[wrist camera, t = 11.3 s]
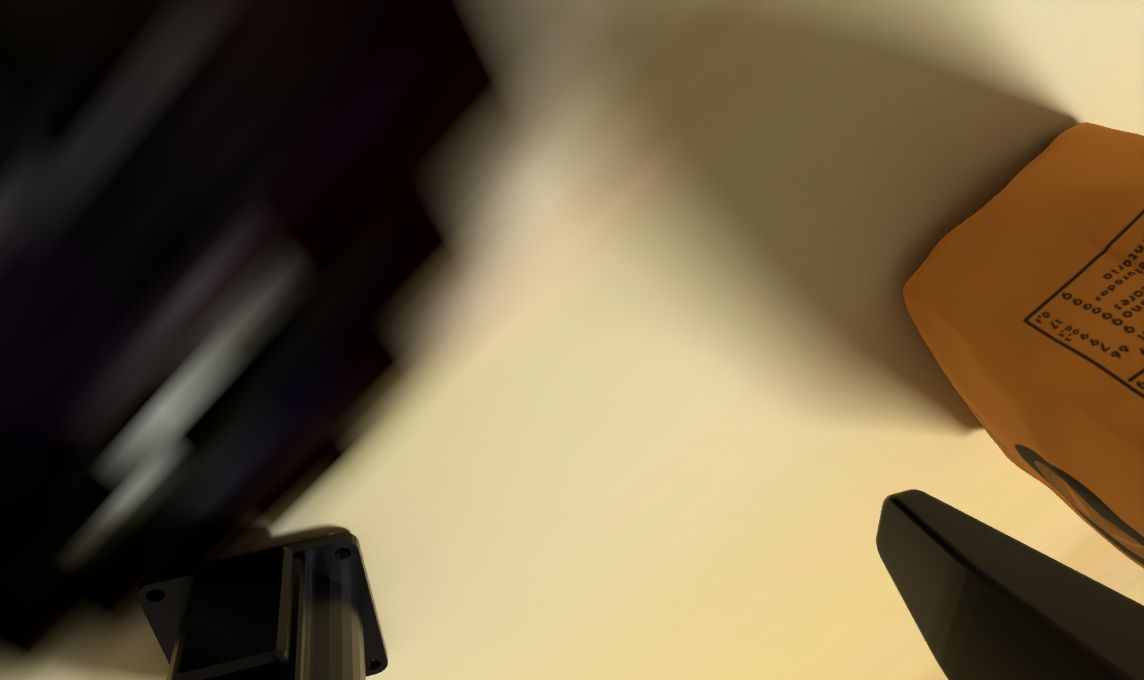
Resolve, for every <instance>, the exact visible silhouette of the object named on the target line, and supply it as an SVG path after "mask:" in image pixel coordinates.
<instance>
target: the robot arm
mask: <svg viewBox="0 0 1144 680" xmlns="http://www.w3.org/2000/svg"><path fill="white" fill-rule="evenodd" d="M876 544H877V549H878V552H879V555H880V557H881V559H882V561H883V563H884V565H885V567H886V568H887V570H888V572H889V574H890V576H891V578H892V580H893V582H894V583H895V585H896V587H897V589H898V591H899V593H900V595H901V596H902V598H903V600H904V602H905V604H906V606H907V608H908V609H909V611H910V613H911V615H912V617H913V619H914V621H915V622H916V624H917V626H918V628H919V630H920V632H921V634H922V636H923V637H924V639H925V641H926V643H927V645H928V647H929V648H930V650H931V652H932V654H933V655H934V657H935V659H936V661H937V662H938V664H939V666H940V667H941V669H942V670H943V672H944V674H945V675H946V677H947V678H948V680H1144V606H1143V605H1141V604H1139V603H1137V602H1136V601H1134V600H1132V599H1130V598H1128V597H1126V596H1124V595H1122V594H1120V593H1118V592H1116V591H1114V590H1112V589H1110V588H1108V587H1107V586H1105V585H1103V584H1101V583H1099V582H1097V581H1095V580H1093V579H1091V578H1089V577H1087V576H1085V575H1083V574H1081V573H1079V572H1078V571H1076V570H1074V569H1072V568H1070V567H1068V566H1066V565H1064V564H1062V563H1060V562H1058V561H1056V560H1054V559H1052V558H1050V557H1049V556H1047V555H1045V554H1043V553H1041V552H1039V551H1037V550H1035V549H1033V548H1031V547H1029V546H1027V545H1025V544H1023V543H1021V542H1019V541H1018V540H1016V539H1014V538H1012V537H1010V536H1008V535H1006V534H1004V533H1002V532H1000V531H998V530H996V529H994V528H992V527H990V526H989V525H987V524H985V523H983V522H981V521H979V520H977V519H975V518H973V517H971V516H969V515H967V514H965V513H963V512H961V511H960V510H958V509H956V508H954V507H952V506H950V505H948V504H946V503H944V502H942V501H940V500H938V499H936V498H934V497H932V496H931V495H929V494H927V493H925V492H922V491H919V490H915V489H913V490H907V491H903V492H899V493H896V494H892V495H889V496H887V497H886V499H885V500H884V502H883V505H882V510H881V515H880V520H879V525H878V531H877V536H876ZM342 547H346V548H348V549H346V550H342V551H340V550H337V549H339V548H342ZM155 589H159V590H162V591H161V592H155V591H152V590H155ZM137 597H138V601H139V603H140V605H141V607H142V609H143V611H144V613H145V615H146V617H147V619H148V621H149V623H150V625H151V627H152V630H153V632H154V634H155V636H156V638H157V640H158V642H159V644H160V646H161V648H162V650H163V652H164V654H165V656H166V658H167V660H168V662H169V664H170V666H169V671H168V675H167V680H366V676H370V675H374V674H377V673H380V672H382V671H383V670H384V669H385V668H386V667H387V665H388V658H387V650H386V646H385V642H384V638H383V634H382V630H381V627H380V623H379V619H378V615H377V611H376V607H375V603H374V599H373V595H372V591H371V588H370V584H369V580H368V576H367V572H366V568H365V564H364V560H363V556H362V553H361V549H360V545H359V541H358V539H357V537H355V536H354V535H352V534H349V533H338V534H334V535H329V536H325V537H320V538H316V539H311V540H306V541H302V542H297V543H293V544H288V545H284V546H279V547H275V548H270V549H265V550H261V551H256V552H252V553H247V554H243V555H238V556H234V557H229V558H224V559H220V560H215V561H211V562H206V563H202V564H197V565H193V566H188V567H184V568H179V569H174V570H170V571H165V572H161V573H156V574H152V575H150V576H147V577H146V578H144V579H143V580H142V582H141V584H140V587H139V590H138V594H137ZM372 660H373V661H372Z"/></svg>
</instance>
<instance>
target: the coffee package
mask: <svg viewBox="0 0 1144 680" xmlns="http://www.w3.org/2000/svg"><path fill="white" fill-rule="evenodd" d="M903 296H904V300H905V304H906V307H907V310H908V312H909V314H910V316H911V318H912V320H913V322H914V323H915V325H916V327H917V329H918V331H919V333H920V335H921V336H922V338H923V340H924V341H925V343H926V345H927V346H928V348H929V349H930V351H931V352H932V354H933V356H934V357H935V359H936V361H937V362H938V364H939V366H940V367H941V369H942V370H943V372H944V373H945V375H946V376H947V378H948V379H949V380H950V382H951V383H952V385H953V386H954V388H955V389H956V390H957V392H958V393H959V395H960V396H961V397H962V398H963V400H964V401H965V402H966V404H967V405H968V406H969V408H970V409H971V411H972V412H973V413H974V415H975V416H976V418H977V419H978V420H979V422H980V423H981V424H982V426H983V427H984V429H985V430H986V431H987V433H988V434H989V435H990V437H991V438H992V439H993V440H994V441H995V443H996V444H997V445H998V446H999V447H1000V449H1001V450H1002V451H1003V453H1004V454H1005V455H1006V456H1007V458H1008V459H1010V460H1011V461H1012V462H1013V463H1014V464H1015V465H1016V466H1018V467H1019V468H1021V469H1022V470H1024V471H1025V472H1027V473H1028V474H1030V475H1031V476H1033V477H1034V478H1036V479H1037V480H1039V481H1040V482H1042V483H1043V484H1045V485H1046V486H1047V487H1049V488H1050V489H1051V490H1052V491H1053V492H1054V493H1055V494H1056V495H1057V496H1059V497H1060V498H1061V499H1062V500H1063V501H1064V502H1065V503H1066V504H1067V505H1068V506H1069V507H1070V508H1071V509H1072V510H1073V511H1074V512H1075V513H1076V514H1077V515H1078V516H1080V517H1081V518H1082V519H1083V520H1084V521H1085V522H1086V523H1087V524H1089V525H1090V526H1091V527H1092V528H1093V529H1094V530H1096V531H1097V532H1098V533H1099V534H1100V535H1101V536H1103V537H1104V538H1105V539H1106V540H1107V541H1108V542H1110V543H1111V544H1112V545H1113V546H1114V547H1115V548H1117V549H1118V550H1119V551H1120V552H1122V553H1123V554H1124V555H1126V556H1127V557H1128V558H1130V559H1131V560H1132V561H1134V562H1135V563H1137V564H1138V565H1139V566H1141V567H1142V568H1144V136H1142V135H1139V134H1135V133H1129V132H1124V131H1119V130H1114V129H1110V128H1107V127H1103V126H1100V125H1096V124H1091V123H1087V122H1086V123H1082V124H1078V125H1076V126H1073V127H1071V128H1069V129H1067V130H1065V131H1064V132H1062V133H1061V134H1060V135H1058V136H1057V137H1056V138H1055V139H1054V141H1053V142H1052V143H1051V144H1050V145H1049V146H1048V147H1047V148H1046V149H1045V150H1044V151H1043V152H1042V153H1041V154H1040V155H1038V156H1037V157H1036V158H1035V159H1034V160H1032V161H1031V162H1030V163H1029V164H1028V165H1027V166H1026V167H1025V168H1024V169H1022V170H1021V171H1020V172H1019V173H1018V174H1017V175H1016V176H1015V177H1014V178H1013V179H1012V180H1011V181H1010V183H1009V184H1008V185H1007V186H1006V187H1005V188H1004V189H1003V190H1002V191H1001V192H1000V193H998V194H997V195H996V196H994V197H993V198H992V199H991V200H990V201H989V202H988V203H987V204H986V205H985V206H984V207H982V208H981V209H980V210H978V211H977V212H976V213H974V214H973V215H972V216H970V217H969V218H968V219H966V220H965V221H964V222H962V223H961V224H959V225H958V226H957V227H955V228H954V229H953V230H951V231H950V232H949V233H948V234H947V235H946V236H945V237H944V238H943V239H942V240H940V241H939V242H938V243H937V244H936V246H935V247H934V248H933V249H932V251H931V253H930V254H929V256H928V257H927V259H926V260H925V261H924V262H923V264H922V265H921V266H920V267H919V269H918V270H917V271H916V272H915V273H914V274H913V275H912V277H911V278H910V279H909V280H908V281H907V282H906V284H905V285H904V287H903Z"/></svg>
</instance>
